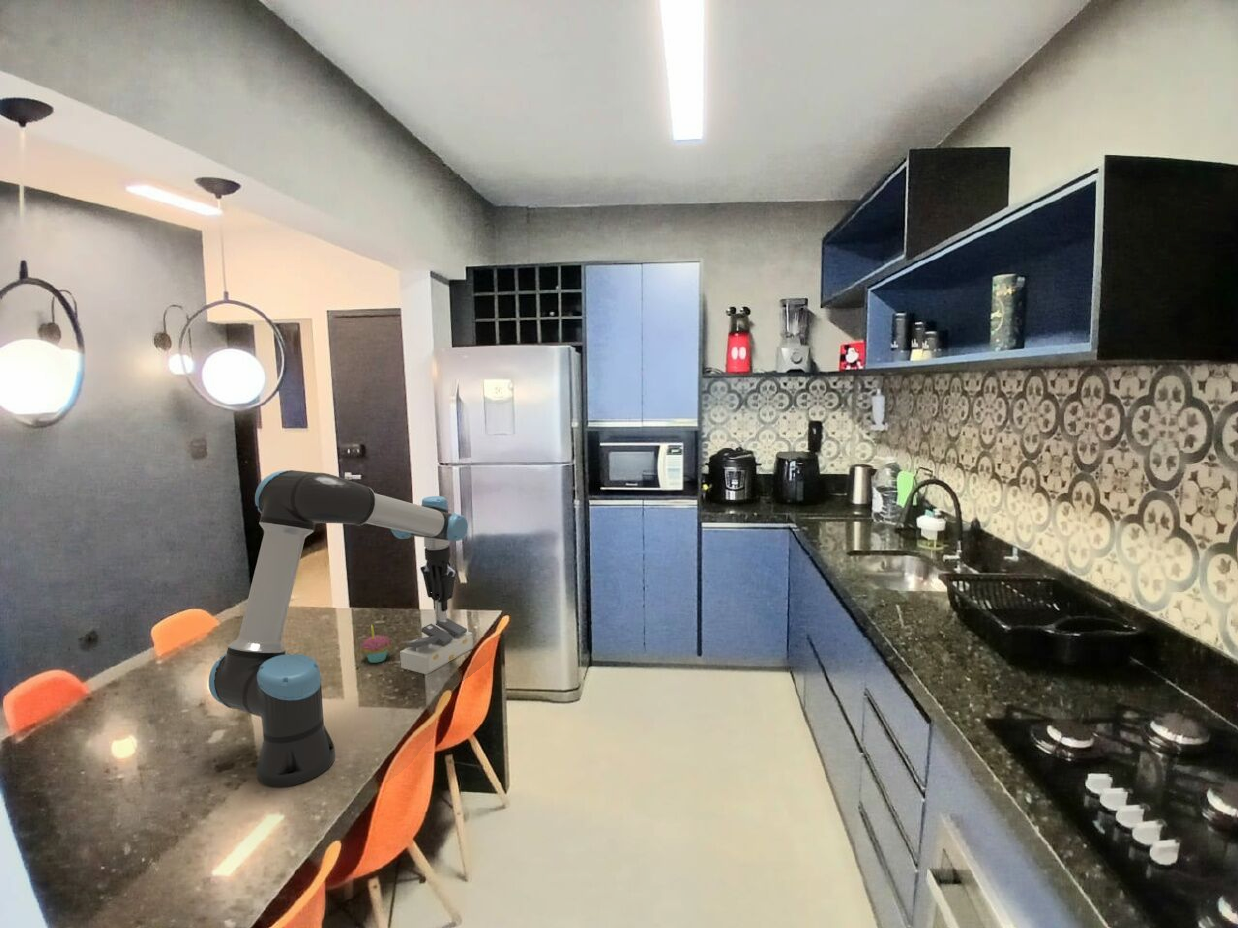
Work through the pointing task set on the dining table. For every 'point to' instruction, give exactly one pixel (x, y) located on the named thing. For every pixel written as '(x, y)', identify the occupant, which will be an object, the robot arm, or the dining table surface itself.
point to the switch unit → (435, 653)
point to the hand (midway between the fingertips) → (441, 619)
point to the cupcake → (376, 647)
